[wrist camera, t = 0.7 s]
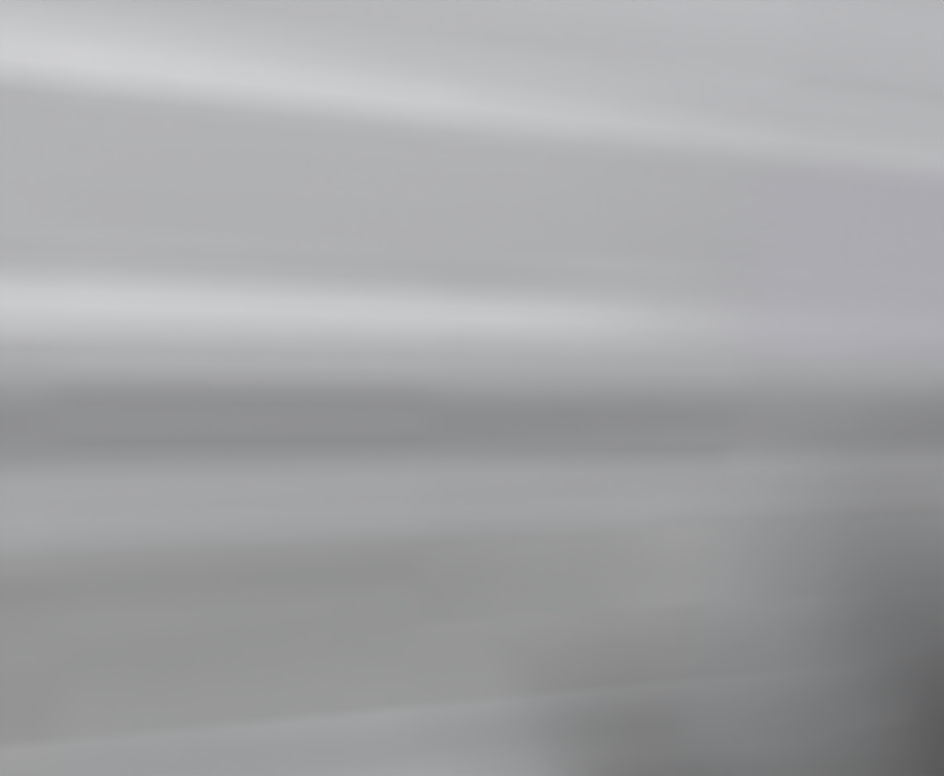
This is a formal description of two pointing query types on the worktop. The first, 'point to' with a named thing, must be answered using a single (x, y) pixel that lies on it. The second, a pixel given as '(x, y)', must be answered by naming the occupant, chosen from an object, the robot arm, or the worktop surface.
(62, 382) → the worktop surface
